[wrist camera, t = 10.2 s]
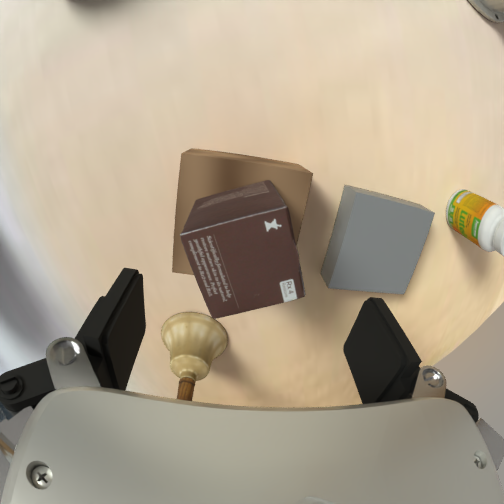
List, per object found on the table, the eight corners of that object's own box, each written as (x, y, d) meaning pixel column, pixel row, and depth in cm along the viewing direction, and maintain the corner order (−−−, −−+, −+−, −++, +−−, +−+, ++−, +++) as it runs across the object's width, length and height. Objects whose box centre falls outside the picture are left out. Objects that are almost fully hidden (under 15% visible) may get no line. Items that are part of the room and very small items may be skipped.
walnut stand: (299, 164, 25) (313, 173, 21) (278, 260, 29) (286, 285, 25) (191, 148, 24) (181, 153, 20) (181, 248, 28) (172, 272, 24)
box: (194, 197, 21) (176, 232, 14) (271, 177, 21) (289, 203, 14) (216, 265, 24) (211, 321, 17) (287, 248, 23) (307, 299, 17)
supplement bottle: (440, 199, 27) (496, 230, 19) (467, 181, 27) (522, 206, 18) (448, 236, 30) (497, 271, 21) (474, 217, 29) (523, 247, 20)
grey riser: (419, 204, 28) (434, 212, 25) (392, 281, 32) (403, 294, 29) (344, 184, 26) (356, 191, 24) (320, 273, 30) (328, 288, 28)
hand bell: (186, 366, 36) (173, 471, 21) (148, 325, 32) (114, 437, 18) (239, 347, 35) (245, 461, 20) (204, 301, 31) (189, 426, 17)
